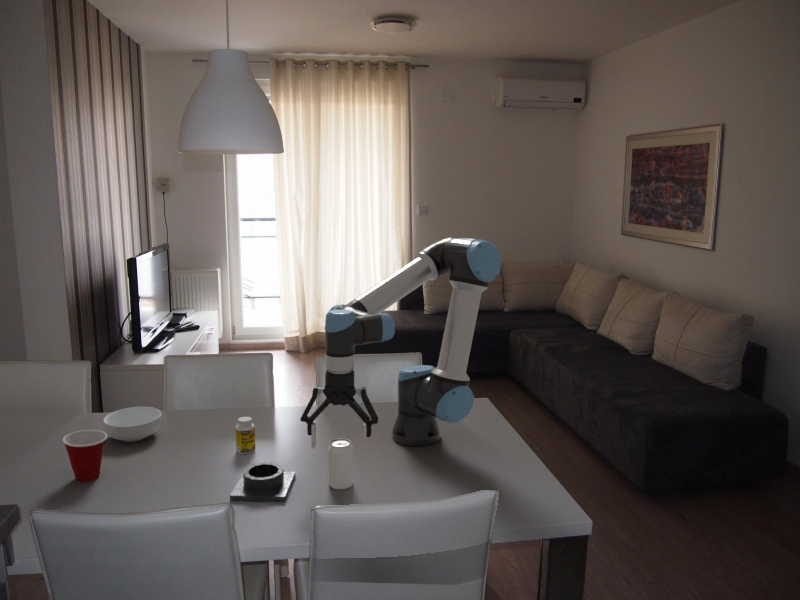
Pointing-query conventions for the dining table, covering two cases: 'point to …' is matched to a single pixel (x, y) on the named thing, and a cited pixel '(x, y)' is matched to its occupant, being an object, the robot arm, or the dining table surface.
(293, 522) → the dining table surface
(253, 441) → the supplement bottle
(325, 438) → the dining table surface
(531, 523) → the dining table surface
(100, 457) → the plastic cup
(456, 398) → the robot arm
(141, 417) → the cereal bowl
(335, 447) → the can
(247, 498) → the socket
